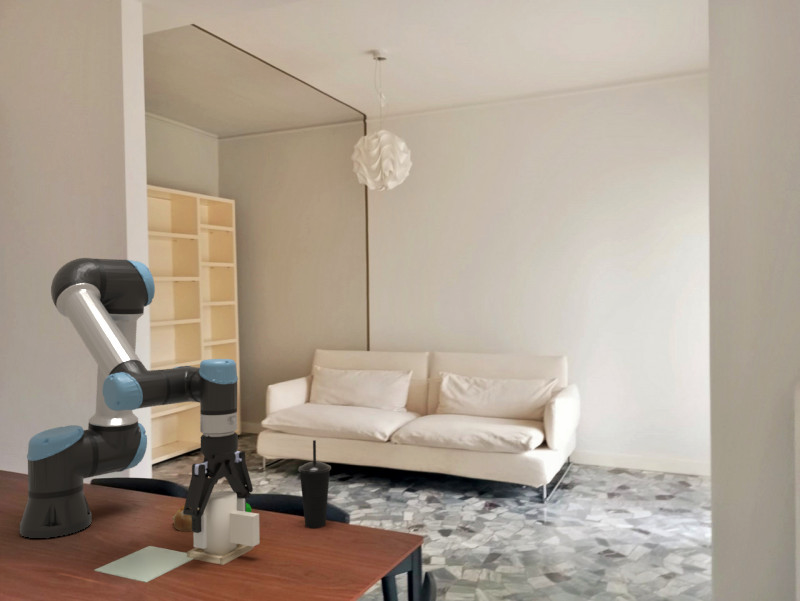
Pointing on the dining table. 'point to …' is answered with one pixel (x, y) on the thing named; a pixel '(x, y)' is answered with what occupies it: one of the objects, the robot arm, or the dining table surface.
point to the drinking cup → (314, 491)
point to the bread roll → (182, 520)
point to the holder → (200, 555)
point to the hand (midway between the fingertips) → (220, 537)
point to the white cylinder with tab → (228, 524)
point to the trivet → (146, 564)
